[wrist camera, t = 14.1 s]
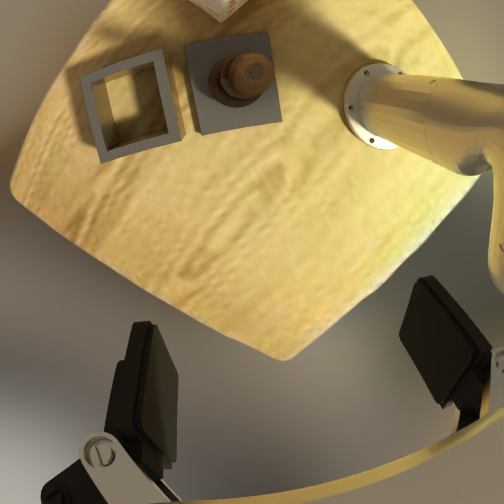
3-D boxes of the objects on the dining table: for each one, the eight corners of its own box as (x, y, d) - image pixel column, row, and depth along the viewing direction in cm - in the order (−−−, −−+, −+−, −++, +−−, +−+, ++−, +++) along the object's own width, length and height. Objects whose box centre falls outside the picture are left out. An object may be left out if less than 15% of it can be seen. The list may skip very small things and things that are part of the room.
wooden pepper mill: (233, 46, 29) (249, 6, 13) (274, 78, 31) (326, 70, 16) (197, 86, 31) (178, 82, 16) (239, 117, 34) (259, 142, 18)
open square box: (169, 53, 29) (162, 48, 25) (185, 134, 35) (181, 140, 30) (95, 77, 29) (79, 77, 25) (113, 154, 35) (101, 163, 30)
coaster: (266, 32, 29) (267, 31, 28) (280, 120, 35) (282, 121, 34) (184, 46, 29) (183, 44, 28) (202, 134, 35) (201, 135, 34)
